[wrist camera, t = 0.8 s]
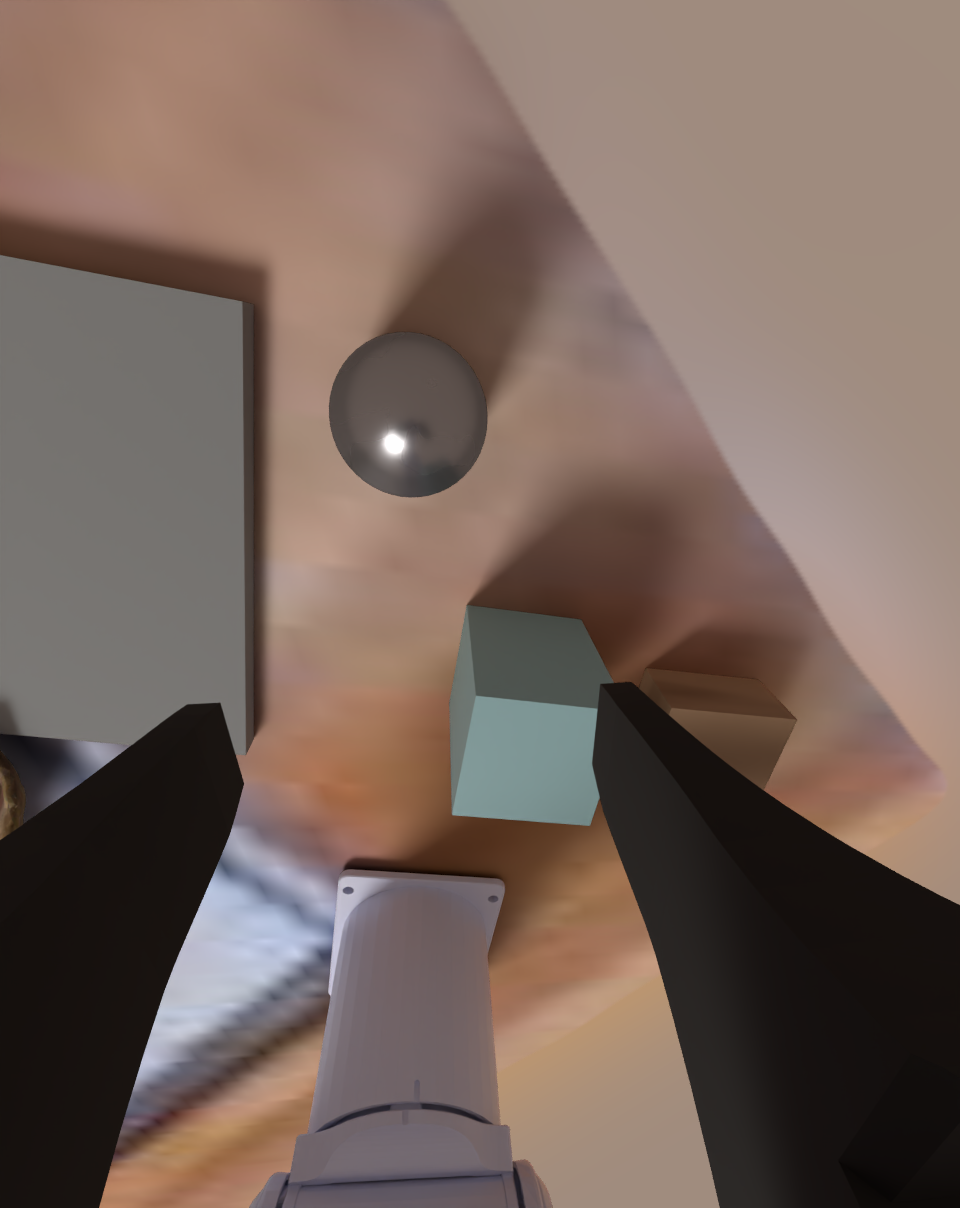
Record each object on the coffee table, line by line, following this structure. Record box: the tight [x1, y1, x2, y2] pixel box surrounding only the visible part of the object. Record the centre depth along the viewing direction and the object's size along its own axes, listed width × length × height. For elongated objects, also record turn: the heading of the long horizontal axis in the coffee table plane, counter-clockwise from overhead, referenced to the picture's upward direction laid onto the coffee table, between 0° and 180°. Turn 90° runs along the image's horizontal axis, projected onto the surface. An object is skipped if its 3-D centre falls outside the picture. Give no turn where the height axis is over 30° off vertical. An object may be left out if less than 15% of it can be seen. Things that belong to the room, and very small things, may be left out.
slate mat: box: [0, 255, 254, 755], centre depth 18 cm, size 16×12×1 cm
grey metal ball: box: [329, 332, 487, 497], centre depth 16 cm, size 4×4×4 cm
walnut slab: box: [639, 668, 797, 790], centre depth 22 cm, size 5×5×3 cm
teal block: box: [449, 605, 614, 826], centre depth 19 cm, size 4×4×6 cm
